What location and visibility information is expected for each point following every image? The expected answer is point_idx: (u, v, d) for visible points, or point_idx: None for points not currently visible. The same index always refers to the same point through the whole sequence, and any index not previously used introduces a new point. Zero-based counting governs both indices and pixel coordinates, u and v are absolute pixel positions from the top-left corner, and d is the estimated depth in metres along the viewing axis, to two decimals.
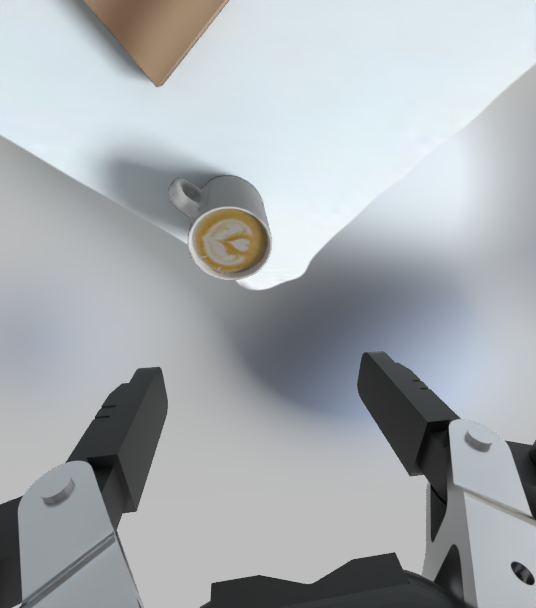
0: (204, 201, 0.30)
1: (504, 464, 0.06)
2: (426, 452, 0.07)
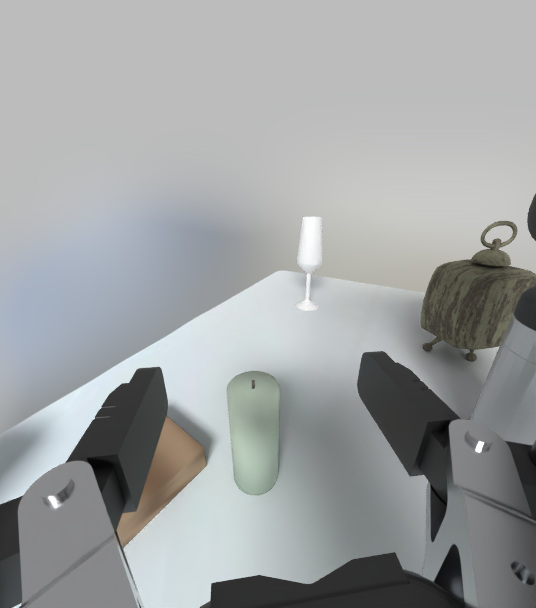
0: None
1: (504, 464, 0.06)
2: (426, 452, 0.07)
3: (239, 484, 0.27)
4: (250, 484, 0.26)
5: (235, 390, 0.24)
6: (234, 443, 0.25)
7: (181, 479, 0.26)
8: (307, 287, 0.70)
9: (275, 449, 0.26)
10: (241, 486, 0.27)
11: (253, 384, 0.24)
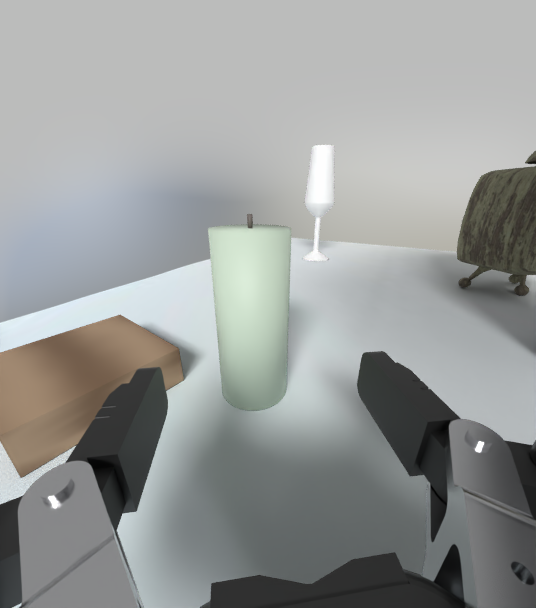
0: None
1: (504, 464, 0.06)
2: (426, 452, 0.07)
3: (229, 395, 0.18)
4: (245, 391, 0.17)
5: (221, 228, 0.15)
6: (220, 319, 0.16)
7: None
8: (316, 234, 0.61)
9: (283, 336, 0.17)
10: (232, 398, 0.18)
11: (250, 219, 0.15)
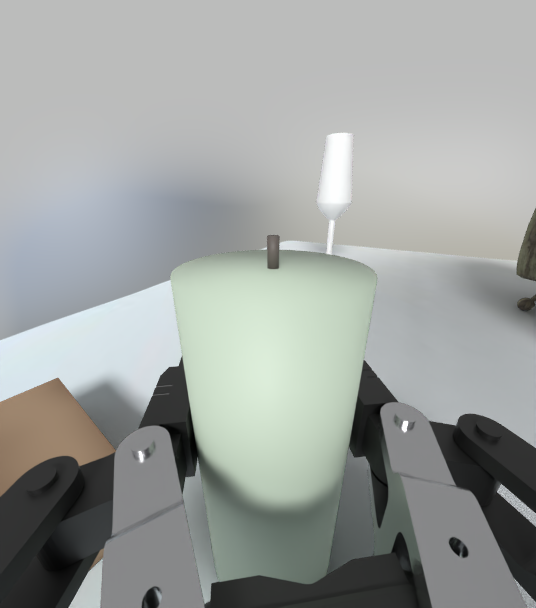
0: None
1: (421, 440, 0.06)
2: (365, 433, 0.08)
3: None
4: None
5: (204, 271, 0.06)
6: (204, 470, 0.07)
7: None
8: (329, 240, 0.52)
9: (339, 488, 0.08)
10: None
11: (274, 249, 0.06)
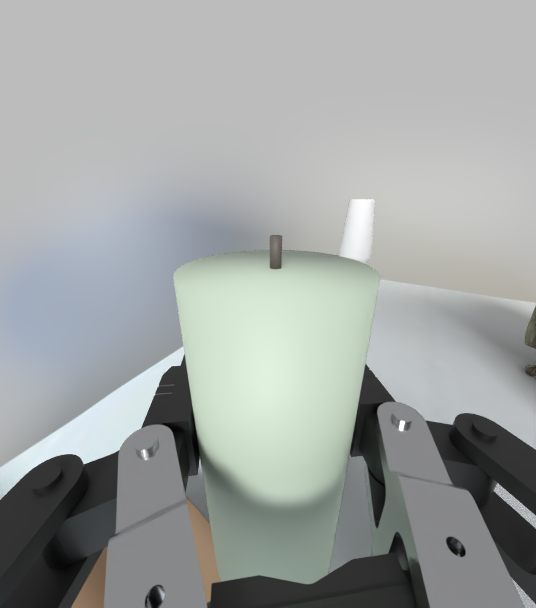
0: None
1: (417, 439, 0.06)
2: (362, 433, 0.08)
3: None
4: None
5: (207, 271, 0.06)
6: (207, 470, 0.07)
7: None
8: None
9: (341, 488, 0.08)
10: None
11: (277, 249, 0.06)
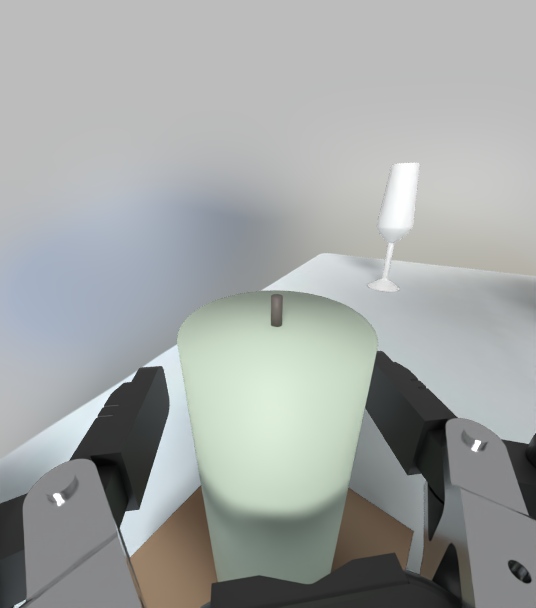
0: None
1: (500, 462, 0.06)
2: (423, 451, 0.07)
3: None
4: None
5: (209, 330, 0.06)
6: (210, 513, 0.07)
7: None
8: (387, 261, 0.54)
9: (339, 525, 0.08)
10: None
11: (278, 309, 0.06)
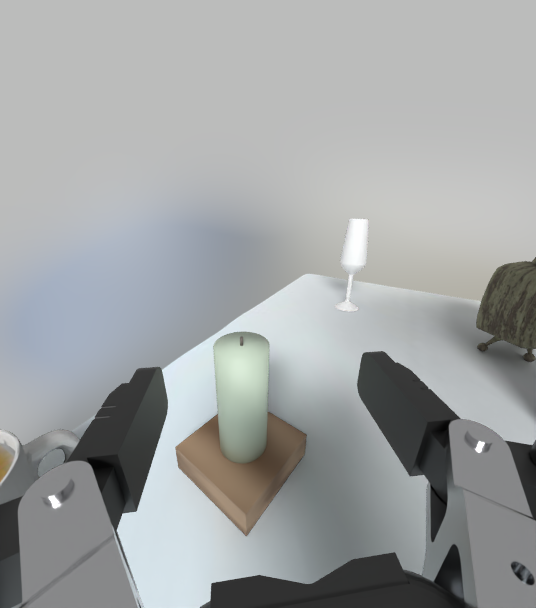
0: (34, 480, 0.20)
1: (504, 464, 0.06)
2: (426, 452, 0.07)
3: (225, 451, 0.25)
4: (236, 450, 0.24)
5: (222, 346, 0.23)
6: (220, 404, 0.23)
7: (290, 464, 0.27)
8: (349, 288, 0.70)
9: (263, 413, 0.24)
10: (227, 454, 0.25)
11: (241, 340, 0.23)
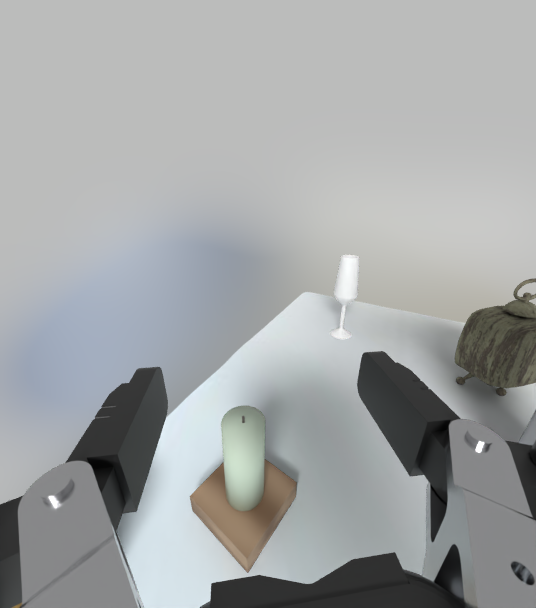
0: None
1: (504, 464, 0.06)
2: (426, 452, 0.07)
3: (230, 501, 0.31)
4: (239, 502, 0.31)
5: (228, 424, 0.29)
6: (226, 468, 0.29)
7: (283, 509, 0.33)
8: (342, 317, 0.76)
9: (261, 472, 0.30)
10: (232, 503, 0.31)
11: (243, 419, 0.29)
